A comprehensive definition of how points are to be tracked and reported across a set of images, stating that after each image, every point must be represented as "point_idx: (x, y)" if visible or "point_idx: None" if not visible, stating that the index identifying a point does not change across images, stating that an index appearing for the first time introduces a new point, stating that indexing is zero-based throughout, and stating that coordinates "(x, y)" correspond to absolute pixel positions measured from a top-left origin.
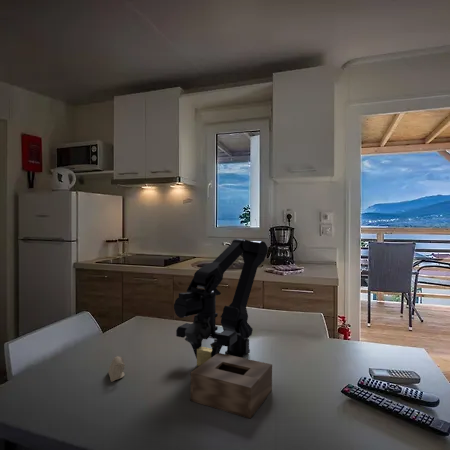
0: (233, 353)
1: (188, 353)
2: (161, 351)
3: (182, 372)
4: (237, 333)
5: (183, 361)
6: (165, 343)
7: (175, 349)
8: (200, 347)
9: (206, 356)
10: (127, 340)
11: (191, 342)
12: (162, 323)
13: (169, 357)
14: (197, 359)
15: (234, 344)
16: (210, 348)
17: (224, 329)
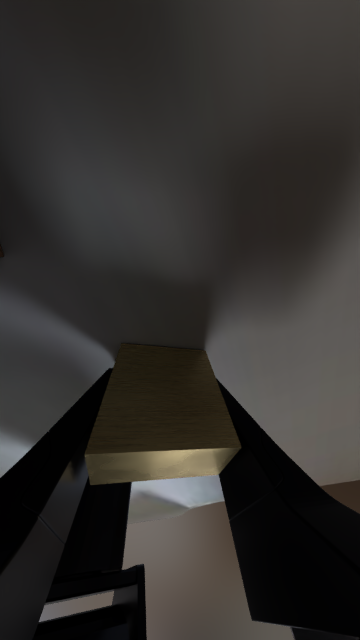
0: None
1: (260, 411)
2: (355, 394)
3: (264, 255)
4: (52, 602)
5: (272, 362)
6: (336, 429)
7: (306, 416)
8: (218, 467)
9: (144, 401)
10: None
11: (357, 540)
12: (334, 476)
13: (330, 371)
14: (209, 374)
15: (81, 507)
16: (136, 480)
17: (136, 604)
